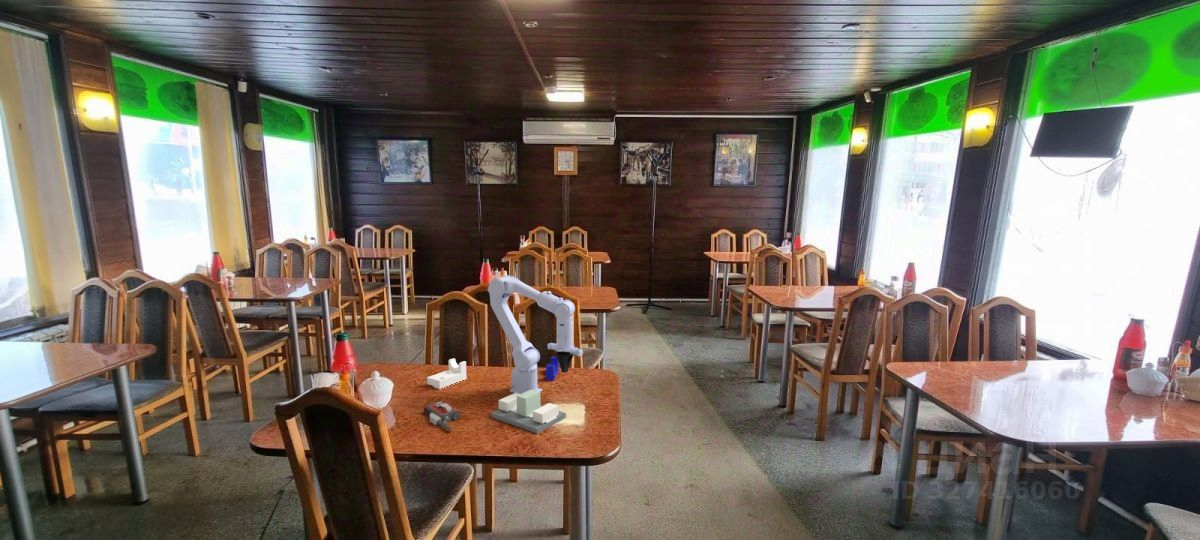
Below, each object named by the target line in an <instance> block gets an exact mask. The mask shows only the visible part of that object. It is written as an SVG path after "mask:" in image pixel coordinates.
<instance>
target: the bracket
mask: <svg viewBox="0 0 1200 540" xmlns="http://www.w3.org/2000/svg"><path fill="white" fill-rule="evenodd" d="M467 378H468V377H467V361H465V360H463V361H461V362H459V363H457V361H456V358H454V357H453V358H450V359H448V369H447V370H444V371H442V372H439V373H436V374H433V375H429V376H427V377H426V384H427V385H429V386H432V387H433V388H434V387H435V388H434V389H436V388H438V389H437V390H439V389H440V390H442V389H441V388H443V389H445V388H447V387H446V386H448V387H450V386H449V385H451V384H453V385H455V384H454V383H456V382H458V383H460V382H459V381H461V382H463V381H462V380H464V381H466V380H467ZM465 379H466V380H465ZM456 384H457V383H456ZM451 386H452V385H451ZM444 387H445V388H444Z"/></svg>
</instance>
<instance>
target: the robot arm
mask: <svg viewBox="0 0 1200 540" xmlns="http://www.w3.org/2000/svg"><path fill="white" fill-rule="evenodd" d="M487 292H488V293H489V301H490V302H489V303H490V304H489V305H490V306H491V309H492V311H493V313H494V314H495V316H496V318H497V320H498V322H499V323H500V326H501V328H502V329H503V331H504V333H505V335H506V338H507V339H508V341H509V343H510V345H511V347H512V352H511V355H512V358H513V364H514V366H515V367H514V368H513V369H512V371H511V373H510V382H511V383H510V384H511V385H510V388H511V389H510V390H509V392H510V393H512V394H514V393H518V394H522V393H524V392H526V391H529V390H531V389H532V390H535V391H539V392H540V393H541V392H543V389H542V388H540V387H538V362H539V361H540V359H541V354H540V352H539V350H538V349H536V347H534V345H533V344H532V343H531V342H530V341H528V340H527V338H526V337H525V335H524V334H523V332H522V330H521V328H520V326H519V324H518V322H517V320H516V319H515V317H514V316H515V315H514V314H513V312H512V311H511V309H510V307H509V305H508V300H509V298H510V295H512V294H515V293H517V294H520V295H522V296H524V297H527V298H529V299H531V300H533V301H536V303H537V305H538V307H540V308H542V309H545V310H546V311H548V312H551V313H552V314H554V316H555V318H556V343H554V342H550V343H547V350H553V351H555V352H556V353H554V355H555V356H554V357H557V359H558V361H559V366H560V370H561V373H568V372H569V369H570V365H571V362H572V360H573V358H574V356H575V355H576V356H577V357H581V356H583V354H584V350H583V349H582V348H578V347H576V346H574V343H573V342H574V335H573V334H574V320H573V319H574V316H573V314H574V313H575V311H576V307H575V306H576V305H575V304H574V302H572V301H571V300H570V299H564V298H563V297H558V296H556V295H554V294H552V292H553V291H550V290H548V291H546V290H545V291H542V292H541V291H539V290H537V289H535V288H534V287H531V286H530V285H528V284H526V283H524V282H523V281H522V280H519V278H517V277H513V276H512V275H510V274H508V275H507V274H506V275H504V276H501V277H497V278H492V280H491V281H490V282H489V285H488V287H487Z"/></svg>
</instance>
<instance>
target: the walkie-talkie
mask: <svg viewBox="0 0 1200 540" xmlns="http://www.w3.org/2000/svg"><path fill="white" fill-rule="evenodd" d="M423 413H426V414H425V415H428V416H429V422H430V423H431V424H433V425H434V426H438V425H439V426H441V427H442V428H444V429H447V430H448V431H453V428H452V427H451V426H449V425H448V424H447V423H449V422H451V421H457V420H458V419H460V418H461V417H460V415H461V412H460V410H459V409H457V408H455V407H454V406H452V405H451V404H449V403H447V402H445V401H442V400H439V401H436V402H432V403H428V404H427V405H426V407H423Z"/></svg>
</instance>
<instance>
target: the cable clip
mask: <svg viewBox="0 0 1200 540" xmlns="http://www.w3.org/2000/svg"><path fill="white" fill-rule="evenodd" d="M559 366H560V364H559V361H558V359H557V357H556V356H551V357H550V363H547V364H546V366H545V371H544V373H545V374H544V375H545V381H546V380H550V382H554V381H555V379H556V377H557V375H558V373H559V370H560V369H559ZM551 380H552V381H551Z"/></svg>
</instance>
